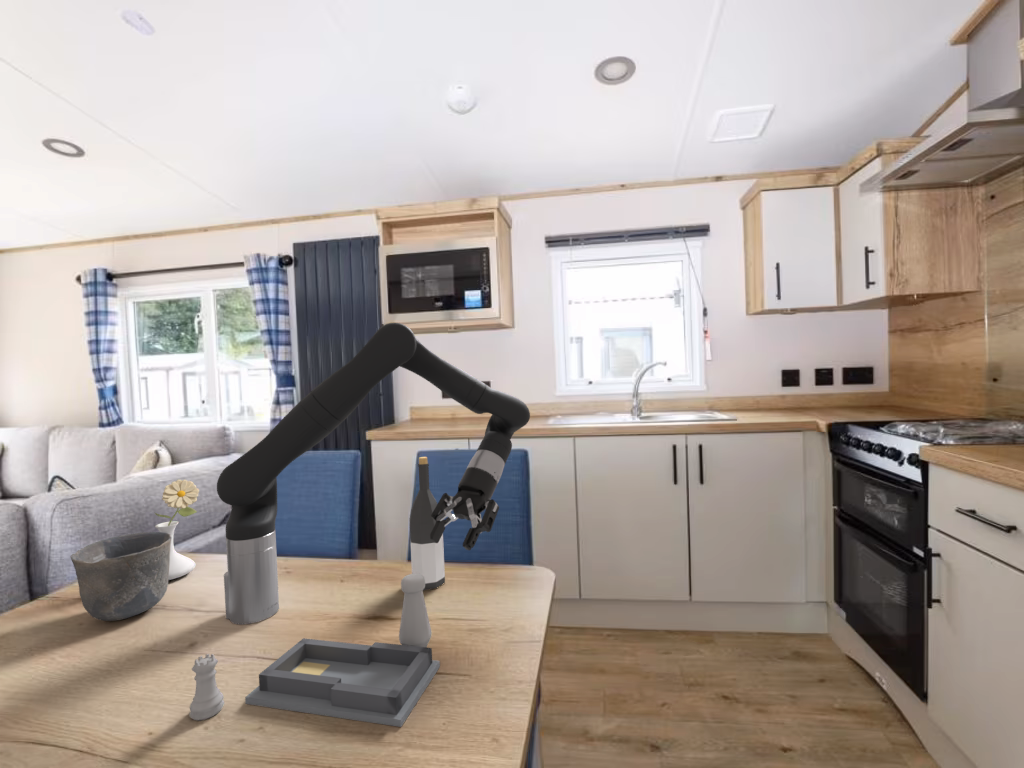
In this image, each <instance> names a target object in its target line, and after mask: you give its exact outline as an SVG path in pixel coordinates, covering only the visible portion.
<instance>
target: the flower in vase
mask: <svg viewBox="0 0 1024 768" xmlns="http://www.w3.org/2000/svg"><path fill="white" fill-rule="evenodd" d="M164 487H165V488H164V489H163V492H162V498H161V500H162V501H163V502H164V503H165V504H166V505H167V507H168V508H173V509H176V510H175V513H173V516H172V517H171V516H169V515H166V514H160V513H157V512H154V515H155V516H157V517H161V518H168V519H170V520H169V521H166V522H161V523H158V524H155V525H154V527H155V529H157V530H158V532H165V533H168V534H170V536H171V537H172V539H171V544H170V565H169V577H168V581H170V580H171V581H172V580H174V579H177V578H181V577H183V576H186V575H187V574H189V573H190V572H192V571H193V570H194V569H195V567H196V565H197V564H196V562H195V561H194V560H193V559H191V558H190V557H188V556H186V555H183V554H181V553H179V552H177V551H176V549H175V547H174V537H175V535H174V534H175V530H176V528H177V525H179V520H178V521H176V520H174V521H173V519H174V518H175V516H176V515H177V513H178V515H180V516H182V517H183V518H185V517H186V518H187V517H189V516H191V515H194V514H196V513H197V510H196V509H194V508H193V507H191V505H193V504H194V503H196V502H197V500H198V498H197V497H199V493H200V488H197V485H195V483H194V482H193V481H191V480H187V479H183V480H182V479H177V480H175V481H172V482H171V483H170V484H168V485H165V486H164ZM189 506H190V507H189Z"/></svg>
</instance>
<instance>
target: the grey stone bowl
mask: <svg viewBox="0 0 1024 768" xmlns="http://www.w3.org/2000/svg"><path fill="white" fill-rule="evenodd" d="M171 539H172V537H171V536H170V534H168V533H165V532H159V531H149V532H148V531H145V532H135V533H128V534H122V535H117V536H113V537H110V538H105V539H102V540H98V541H95V542H93V543H91V544H88V545H86V546H83V548H80V549H78V550H77V551H76V552H75V553H72V554H71V555H70V560H71V561H72V562H71V563H72V564H73V567H74V570H75V574H76V578H77V585H78V590H79V591H78V592H79V597H80V600H81V603H82V606H83V608H84V610H86V611H87V613H88V614H89V615H90V616H91V617H92V618H94V619H95V620H99V621H105V622H106V621H107V622H113V621H120V620H121V621H122V620H126V619H128V618H132V617H134V616H137V615H139V614H141V613H143V612H146V611H148V610H149V609H151V608H153V607H154V606H156V605H157V604H158V603H159V602H161V601H162V599H163V598H164V596H165V594H166V593H167V590H168V585H169V580H168V577H169V565H170V544H171Z"/></svg>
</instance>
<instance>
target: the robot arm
mask: <svg viewBox="0 0 1024 768" xmlns="http://www.w3.org/2000/svg"><path fill="white" fill-rule="evenodd" d="M399 367H400V368H403V369H405V370H408V371H410V372H411V373H413V374H415V375H417V376H419V377H421V378H423V379H424V380H426V381H427V382H429V383H430V384H431V385H432V386H435V387H436V388H437V389H438V390H440V391H441V392H442V393H444V394H445V395H447V396H448V397H449V398H451V399H452V400H454V401H455V402H457V403H458V404H460V405H462V406H463V407H465V408H466V409H468V410H469V411H471V412H472V413H475V414H477V415H482V414H491V416H490V417H489V420H488V422H487V424H486V425H487V426H486V428H485V431H484V435H483V436H484V437H483V438H482V441H481V442H480V443H479V445H478V448H477V449H476V452H475V453H474V455H473V456H472V458H471V459H470V461H469V463H468V465H467V467H466V469H465V471H464V473H463V474H462V476H461V479H460V481H459V483H458V485H457V493H456V494H454V495H453V496H452V495H449V494H448V493H447V492H444V493H442V495H441V497H440V499H439V501H438V502H437V506H436V508H435V509H434V511H433V513H432V515H431V517H432V518H433V519H434V520H435V521H436V524H435V526H434V528H433V530H432V532H431V534H430V539H431V540H432V541H433V542H434V543H438V542H439V540H440V538H441V536H442V534H443V535H444V532H445V530H446V527H447V526H448V525H449V524H450V523H451V522H456V521H457V520H458V519H459V520H467V521H469V522H470V523H471V527H470V528H469V529H468V531H467V533H466V536H465V538H464V541H463V542H462V547H463V548H464V549H465V550H466V551H471V550H472V549H473V548H474V546H476V543H477V540H478V538H479V536H480V534H482V533H483V532H486V533H489V532H491V530H492V528H493V526H494V523H495V520H496V518H497V515H498V512H499V510H500V506H499V505H498V503H497V502H496V501H495V499H492V497H493V496H494V495H493V494H494V493H495V490H496V488H497V486H498V483H499V482H500V480H501V477H502V476H503V475H502V474H503V471H504V468H505V466H506V463H507V460H508V459H509V456H510V455H511V452H512V447H513V443H512V441H511V438H512V437H513V435H514V434H515V433H516V432H517V431H519V430H520V429H522V428H523V427H525V426H527V424H528V422H529V421H530V418H531V412H530V409H529V407H528V406H527V404H526V403H525V402H524V401H523V400H521V399H520V398H518V397H517V396H514V395H512V394H509V393H507V392H503V391H501V390H499V389H495V388H492V387H491V386H489V385H487V384H486V383H484V382H483V381H481V380H480V379H478V378H477V377H476V376H474V375H472V374H470V373H469V372H467V371H466V370H463V369H462V368H460V367H458V366H456V365H454V364H452V363H451V362H449V361H447V360H446V359H444V358H443V357H440V356H438V355H437V354H436V353H434V352H433V351H432V350H430V349H429V348H428V347H427V346H425V345H424V344H423V343H422V342H421V341H419V339H417V338H416V336H415V333H414V331H412V329H411V328H410V327H408V326H407V325H406V324H404V323H400V322H389V323H386V324H384V325H382V326H381V327H379V328H378V329H377V330H376V332H375V333H374V335H373V336H371V338H370V339H369V340H368V341H367V342H366V344H365V345H364V346H363V347H362V348H361V349H360V350H359V352H358V353H356V354H355V356H354V357H353V358H352V359H351V360H349V361H348V362H347V363H346V364H344V365H343V366H342V367H340V368H339V369H337V370H336V371H335V372H333V373H332V374H330V375H329V376H328V377H327V378H326V379H324V380H323V381H322V382H320V383H318V385H316V386H315V387H314V388H313V389H312V390H311V391H310V392H309V393H308V394H306V395H305V396H304V397H303V398H302V399H301V400H300V401H299V402H298V403H297V404H296V405H295V406H294V407H293V408H291V410H290V411H289V412H288V413H286V415H285V416H284V417H283V418H282V419H281V420H280V421H279V422H278V423H277V424H276V425H275V426H274V427H273V429H271V430H270V431H269V432H268V434H267V435H266V436H265V437H264V438H263V439H261V440H260V441H259V442H258V443H257V444H255V445H254V446H253V447H252V448H250V450H248V451H247V452H245V453H244V454H242V455H241V456H240V457H239V458H237V459H236V460H234V461H232V463H230V464H229V465H227V466H226V467H225V468H224V469H223V470H222V471H221V472H220V475H219V477H218V479H217V482H216V492H217V495H218V497H219V499H220V500H221V501H222V502H224V503H225V504H227V505H230V506H231V510H230V514H229V517H228V519H227V521H226V523H225V524H226V525H225V543H226V545H225V546H226V562H227V563H226V565H227V567H226V568H227V571H226V572H224V574H223V583H224V584H223V586H224V605H225V606H224V608H225V619H226V620H227V619H228V620H229V621H230V622H231V623H232V624H236V625H250V624H255V623H258V622H261V621H264V620H267V619H269V618H271V617H273V616H274V615H276V613H278V611H279V610H278V609H280V603H279V602H280V599H279V578H278V577H279V576H278V574H279V573H278V556H277V552H278V551H277V536H276V519H277V515H278V478H277V477H278V476H279V475H280V474H281V473H282V472H283V471H284V470H285V469H286V468H287V467H288V466H289V465H291V463H292V462H294V461H295V460H296V459H297V458H299V457H300V456H302V455H304V454H305V453H306V452H308V451H309V450H311V449H312V448H313V447H315V446H316V445H318V444H319V443H320V442H322V441H323V440H324V439H325V438H326V437H328V436H329V435H330V434H331V433H333V432H334V431H335V430H336V429H337V428H338V427H339V426H340V425H342V423H343V422H344V421H345V420H346V419H347V418H349V416H350V415H351V414H352V413H353V412H354V411H355V410H356V409H357V408H358V406H359V405H360V404H361V403H362V402H363V400H365V398H366V396H368V394H369V393H370V392H371V390H372V389H374V387H376V386H377V384H379V383H380V382H381V381H382V380H384V379H385V378H386V377H387V376H388V375H390V374H391V373H393V372H394V371H395V370H396V369H398V368H399ZM439 512H440V514H439V515H438V513H439ZM452 512H453V513H452ZM482 512H483V515H482V514H481V513H482Z"/></svg>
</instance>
